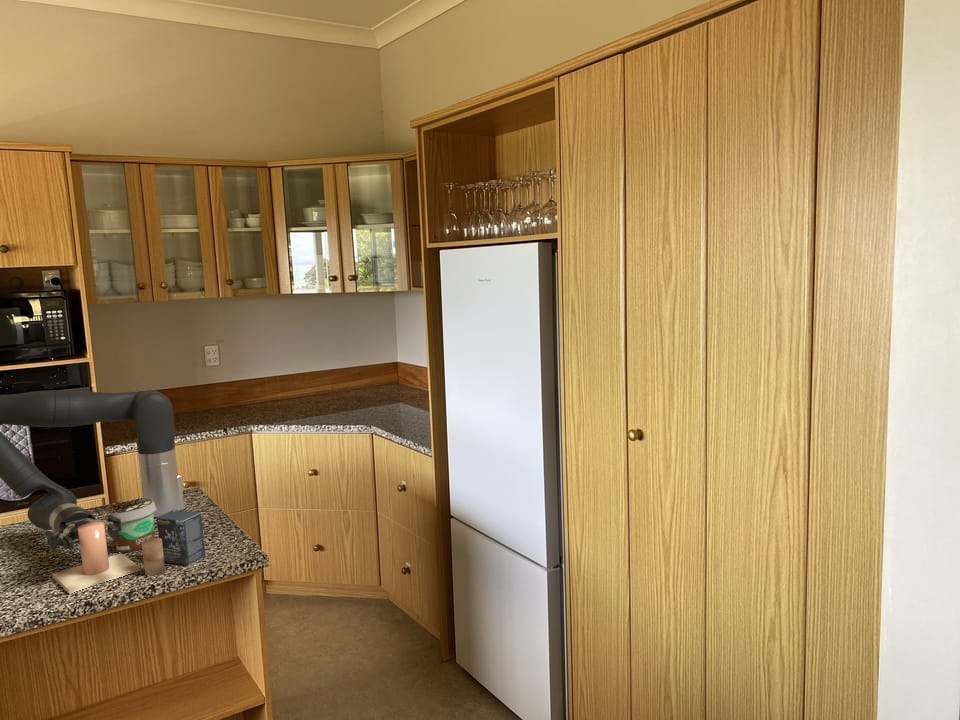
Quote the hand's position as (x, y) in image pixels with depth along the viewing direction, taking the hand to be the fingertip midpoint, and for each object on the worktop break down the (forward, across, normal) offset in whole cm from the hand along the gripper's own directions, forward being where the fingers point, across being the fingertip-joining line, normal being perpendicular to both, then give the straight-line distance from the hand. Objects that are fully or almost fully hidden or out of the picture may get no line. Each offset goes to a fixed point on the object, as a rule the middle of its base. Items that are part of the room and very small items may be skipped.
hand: (93, 539), depth 152 cm
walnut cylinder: (+7, +9, +9) cm, 14 cm away
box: (+5, +16, +9) cm, 19 cm away
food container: (-11, +13, +9) cm, 19 cm away
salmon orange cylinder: (-2, 0, +8) cm, 8 cm away
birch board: (-2, 0, +9) cm, 9 cm away
